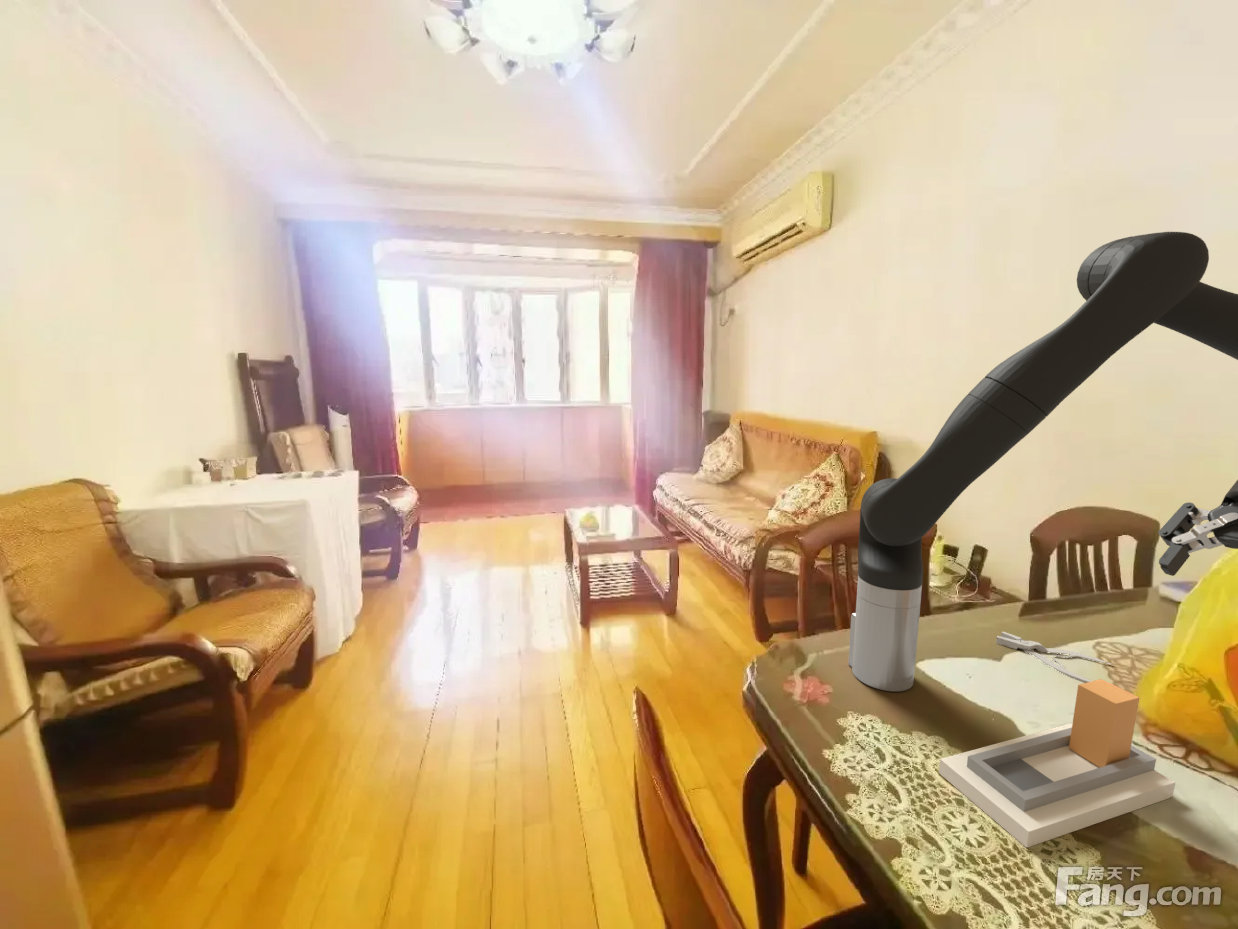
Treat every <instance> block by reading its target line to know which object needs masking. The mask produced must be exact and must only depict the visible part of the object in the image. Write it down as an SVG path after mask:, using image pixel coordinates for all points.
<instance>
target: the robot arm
mask: <svg viewBox="0 0 1238 929" xmlns="http://www.w3.org/2000/svg"><path fill="white" fill-rule="evenodd" d="M1209 254H1210V253H1209V249H1208V246H1207V244H1206V242H1205V241H1204V240H1203V239H1202V238H1201V237H1199V236H1197V235H1196V234H1193V233H1190V232H1186V231H1185V232H1184V231H1161V232H1154V233H1153V232H1152V233H1146V234H1139V235H1133V236H1127V237H1123V238H1119V239H1115V240H1112V241H1110V242H1108V243H1105V244H1103V245H1101V246H1099V247H1098V248H1096V249H1094V250H1093V251H1092V252H1091V253H1090V254H1089V255H1088V256H1086V258H1085V259H1084V260H1083V261H1082V263H1081V264H1080V267H1079V269H1078V271H1077V276H1076V286H1077V289H1078V292H1079V294H1080V295H1081V297H1082V299H1084V300H1085V302H1084V303H1083V304H1082V305H1081V306H1080V307H1079V308H1078V309H1077V310H1076V311H1075V312H1074V313H1073V314H1072V315H1070V317H1069V318H1067V319H1066V320H1065V321H1064V322H1062V323H1061V324H1060V325H1058V326H1057V327H1055V328H1054V329H1052V330H1051V331H1050V332H1048V333H1046V334H1045V335H1043V336H1042V337H1039V338H1038V339H1036V340H1035V341H1033V342H1032V343H1030V344H1028V345H1026V346H1025V347H1023V348H1022V349H1020V350H1019V351H1017V352H1015V353H1014V354H1012V355H1011V356H1009V357H1007V358H1006V359H1005V360H1003V361H1002V362H1000V363H999V364H997V365H996V366H995V367H994V368H993V369H991V370H990V371H989V372H988V373H987V374H986V375H985V376H984V377H983V378H982V379H981V380H980V381H979V382H978V383H977V384H976V385H975V386H974V387H973V388H972V389H971V390H970V391H969V392H968V393H967V394H966V395H965V396H964V397H963V399H962V400H961V401H960V402H959V403H958V405H956V407H955V408H954V410H952V412H951V413H950V415H949V416H948V418H947V420H946V421H945V422H944V424H943V426H942V427H941V428H940V430H939V432H938V434H937V435H936V437H935V439H934V440H933V441H932V443H931V445H930V446H929V447H928V449H927V450H926V451H925V453H924V454H923V455H922V456H921V457H920V458H919V459H918V460H917V461H916V462H915V463H914V464H913V465H912V466H910V467H909V468H908V469H907V470H906V471H905V472H903V474H901V475H900V476H899V477H897V478H895V477H893V478H891V477H889V478H883V479H881V480H878V481H876V482H874V483H872V484H871V485H870V486H869V487H868V488H867V489H866V490H865V492H864V493H863V495H862V498H861V502H860V509H859V510H860V514H859V527H858V529H859V532H858V533H859V534H858V547H857V548H858V550H857V552H858V554H857V555H858V561H857V562H858V566H857V568H858V571H857V585H856V586H857V587H856V589H857V590H856V603H855V612H853V613H851V615H850V628H849V629H850V630H849V631H850V632H849V648H848V662H847V664H848V665H849V666H850V667H851V668H852V670H851V671H852V673H853V676H855V678H856V679H857V680H859V681H860V682H862V683H864V684H865V685H867V686H869V687H871V688H874V689H877V690H881V691H886V692H904V691H905V692H906V691H908V690H910V689H911V688H912V687H913V685H914V678H915V671H916V670H915V669H916V668H915V667H916V659H917V651H918V650H917V646H918V639H919V638H918V637H919V636H918V635H919V625H920V613H921V600H922V588H923V577H924V568H923V567H924V565H923V556H922V555H923V554H922V543H923V542H922V541H923V537H924V536H926V534H927V533H928V532H929V531H930V530H931V529H932V528H933V526H934V525H935V524H936V523H937V522H938V521H939V519H940V518H941V517H942V516H943V515H944V514H945V512H947V510H948V509H949V508H950V507H951V506H952V504H953V503H955V501H956V500H957V498H959V497H960V496H961V495H962V493H963V492H964V491H965V490H966V489H967V488H968V487H969V486H971V484H972V483H973V482H976V480H977V479H978V478H980V477H981V476H982V475H983V474H985V472H986V471H988V470H989V469H990V468H991V467H992V466H994V465H995V464H996V463H997V462H998V461H999V460H1000V459H1002V458H1003V457H1004V456H1005V455H1006V454H1007V453H1008V452H1009V451H1010V450H1011V449H1012V448H1014V447H1015V446H1016V445H1017V444H1018V443H1019V442H1021V441H1022V440H1024V438H1025V437H1026V436H1028V435H1029V434H1030V433H1031V432H1032V431H1033V430H1034V429H1035V428H1036V427H1037V426H1038V425H1040V424H1041V422H1043V421H1045V419H1046V418H1047V417H1048V416H1049V415H1050V414H1051V413H1052V412H1053V411H1054V410H1055V409H1056V408H1057V407H1058V406H1059V405H1060V404H1061V403H1062V402H1063V401H1064V400H1065V399H1066V398H1067V397H1068V396H1070V395H1071V394H1072V393H1073V392H1074V391H1075V390H1076V389H1078V387H1080V386H1081V385H1082V384H1083V383H1085V381H1086V380H1087V379H1088V378H1090V376H1092V375H1093V374H1094V373H1095V372H1096V371H1097V370H1099V368H1100V367H1101V366H1103V364H1104V363H1105V362H1106V361H1108V360H1109V359H1110V358H1111V357H1112V356H1113V355H1114V354H1116V353H1117V352H1118V351H1120V349H1122V348H1123V347H1124V346H1126V345H1127V344H1128V343H1129V342H1131V341H1132V340H1133V339H1134V338H1136V337H1137V336H1138V335H1140V334H1141V333H1142V332H1144V330H1146V329H1147V328H1149V327H1150V326H1151V325H1152V324H1156V325H1159V326H1161V327H1164V328H1167V329H1169V330H1171V331H1174V332H1176V333H1179V334H1182V335H1183V336H1186V337H1188V338H1191V339H1193V340H1195V341H1197V342H1200V344H1201V343H1202V344H1204V345H1206V346H1208V347H1210V348H1212V349H1214V350H1216V351H1219V352H1221V353H1223V354H1225V355H1227V356H1228V357H1231V358H1233V359H1235V360H1236V361H1238V293H1235V292H1232V291H1227V290H1224V289H1222V288H1218V287H1215V286H1212V285H1211V284H1210V285H1209V284H1207V283H1205V282H1202V281H1201V280H1202V279H1203V277H1204V275H1205V273H1206V271H1207V268H1208V265H1209V262H1210V261H1209V259H1210V255H1209ZM1203 521H1208V522H1204V523H1202V522H1203ZM1195 525H1196V526H1195ZM1157 533H1158V535H1159V537H1160V538H1161V539H1162V540H1163V541H1164V543H1165V544H1166V545H1167V546H1168V547H1167V549H1166V550H1165V551H1164V553H1163V554H1162V555H1161V557H1160V558H1159V559H1158V564H1159V565H1160V569H1161V570H1162V571H1163V573H1164V574H1165V575H1168V576H1172V577H1173V576H1176V574H1177V573H1178V572H1179V571H1180V569H1181V568H1182V567H1183V565H1184V564H1185V563H1186V562H1187V561H1188V559H1189V558H1190V557H1191V555H1190V554H1192V553H1195V552H1197V551H1200V550H1204V549H1207V550H1211V549H1214V548H1217V547H1220V546H1224V547H1225V548H1229V549H1234V550H1235V549H1236V550H1238V479H1237V480H1236V481H1235V483H1234V484H1233V485H1232V486H1231V487H1230V488H1229V490H1228V491H1227V492H1226V494H1225V496H1224V497H1223V499H1222V501H1221V504H1220V505H1219V506H1217V507H1216V508H1213V509H1210V510H1209V509H1204V508H1199V507H1196V505H1195V504H1194V503H1193V502H1185V503H1183V504H1182V505H1181V506H1180V507H1179V508H1178V509H1177V511H1175V513H1173V515H1172V516H1171V517H1170V518H1169V519H1168V520H1167V521H1166V522H1165V524H1164V525H1163V526H1162V527H1161V528H1160V529H1159V530H1158V532H1157ZM1211 533H1213V535H1214V536H1211V537H1208V535H1209V534H1211Z"/></svg>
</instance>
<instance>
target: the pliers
mask: <svg viewBox="0 0 1238 929" xmlns="http://www.w3.org/2000/svg"><path fill="white" fill-rule="evenodd" d="M995 643H996V644H997V645H1001V646H1004V647H1007V648H1010V649H1013V650H1017V649H1019V650H1022V651H1023V652H1024V653H1025V652H1026V653H1025V654H1027V653H1030V654H1031V655H1030V654H1029V655H1030V656H1032V655H1034V656H1035V657H1037V658H1038V659H1040V660H1041V661H1042V662H1043V663H1045V664H1046V665H1049V666H1051V667H1053V668H1054V669H1056V670H1057V671H1059V672H1058V673H1060V672H1061V673H1060V674H1062V673H1063V674H1062V675H1064V674H1065V676H1066V675H1067V677H1069V678H1071V679H1074V678H1075V679H1074V680H1076V679H1077V681H1079V680H1080V682H1082V683H1087V682H1091V681H1092V680H1091V679H1088V678H1086V677H1083V676H1081V675H1079V674H1077V673H1074V672H1072V671H1069V670H1068V669H1066V668H1065V667H1064V665H1063V664H1062V663H1061V662H1060V661H1059V660H1057V659H1056V657H1065V658H1066V657H1069V658H1070V659H1072V658H1071V657H1081V658H1085V659H1090V660H1094V661H1097V662H1102V663H1105V662H1107V661H1105V660H1104V659H1103V660H1102V659H1100V658H1096V657H1094V656H1090V655H1087V654H1082V653H1079V652H1074V651H1070V650H1066V649H1065V650H1064V649H1060V648H1050V647H1049V648H1047V647H1045V646H1044V645H1043V644H1041V643H1040V642H1038V641H1033V640H1024V639H1023V638H1022V637H1020V636H1017V635H1014V634H1011V633H1009V632H1006V631H1001V633H1000V636H999V635H997V636H996V641H995ZM1034 649H1035V650H1037V651H1038V652H1039V651H1041V652H1040V653H1043V652H1050V653H1058V654H1060V653H1061V654H1069V656H1066V655H1057V654H1053V657H1051V658H1052V659H1053V660H1055V661H1056V662H1057V663H1058V664H1059V665H1060V666H1059V665H1058V664H1057V663H1056V662H1054V661H1053V660H1051V659H1049V658H1048V657H1047V656H1045V655H1043V654H1040V653H1038V652H1035V651H1034ZM1054 656H1056V657H1054ZM1035 657H1034V658H1035ZM1037 658H1036V659H1037ZM1081 658H1080V659H1081ZM1038 659H1037V660H1038ZM1085 659H1084V660H1085ZM1042 662H1041V663H1042ZM1043 663H1042V664H1043ZM1045 664H1044V665H1045ZM1106 664H1109V665H1111V664H1112V663H1110V662H1108V663H1106ZM1046 665H1045V666H1046ZM1057 671H1056V672H1057Z"/></svg>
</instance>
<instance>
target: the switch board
mask: <svg viewBox="0 0 1238 929" xmlns="http://www.w3.org/2000/svg"><path fill="white" fill-rule="evenodd" d="M1072 724H1073V722H1070V723H1067V724H1063V725H1060V726H1057V727H1052V728H1049V729H1046V730H1042V731H1041V730H1040V731H1039V732H1034V733H1031V734H1027V735H1023V736H1020V737H1015V738H1012V739H1008V740H1005V741H1001V742H998V743H997V742H996V743H994V744H990V745H986V746H983V747H980V748H976V749H972V750H967V751H964V752H961V753H957V754H954V755H949V756H946V757H942V758H940V759H939V766H938V774H940V776H942V777H943V778H944V779H945V780H947V781H948V782H949V783H950V784H951V785H953V786H954V787H955V788H956V789H957V790H958V791H959V792H960V793H961V794H962V795H964V796H965V797H966V798H967V799H968V800H970V802H972V803H973V804H974V805H976V806H977V807H978V808H979V809H980V810H982V811H983V812H984V813H985V814H986V815H987V816H989V817H990V818H991V819H992V820H993V821H994V822H995V823H997V824H998V825H999V826H1000V827H1002V828H1003V829H1004V830H1005V831H1006V832H1007V833H1009V835H1011V836H1012V837H1013V838H1014V839H1016V840H1017V841H1018V842H1019V843H1021V844H1022V845H1023V846H1024V847H1025V848H1030V847H1033V846H1036V845H1039V844H1041V843H1044V842H1047V841H1050V840H1052V839H1055V838H1059V837H1062V836H1064V835H1067V834H1070V833H1073V832H1075V831H1079V830H1081V829H1084V828H1088V827H1089V826H1094V825H1095V824H1099V823H1101V822H1104V821H1108V820H1110V819H1113V818H1117V817H1120V816H1122V815H1126V814H1127V813H1130V812H1134V811H1136V810H1139V809H1141V808H1145V807H1148V806H1150V805H1154V804H1156V803H1159V802H1161V801H1165V800H1168V799H1171V798H1173V797H1174V791H1175V786H1176V781H1174V780H1173V779H1170V778H1169V777H1167V776H1165V775H1163V773H1161V772H1158V771H1157V770H1155V768H1156V764H1157V763H1156V762H1157V759H1156V757H1153V756H1152V755H1150V754H1148V753H1147V752H1145V751H1143V750H1142V749H1140V748H1137V747H1135V746H1133V745H1132V744H1131V749H1130V755H1129V759H1126V760H1123V761H1120V762H1116V763H1113V764H1110V765H1107V766H1104V767H1098V766H1097V765H1095V764H1094V763H1092V762H1090V761H1089V760H1087V759H1086V758H1084V757H1082V756H1081V755H1079V754H1078V753H1076V752H1074V751H1073V750H1071V749H1070V748H1069V744H1070V737H1071V730H1072ZM1172 796H1173V797H1172ZM1170 797H1171V798H1170Z"/></svg>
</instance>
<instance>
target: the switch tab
mask: <svg viewBox="0 0 1238 929" xmlns="http://www.w3.org/2000/svg"><path fill="white" fill-rule="evenodd" d="M1139 703H1140V697H1139V696H1137V695H1136V694H1133V693H1131V692H1129V691H1127V690H1125V689H1123V688H1121V687H1118V686H1116V685H1114V684H1112V683H1111V682H1108V681H1106V680H1104V679H1102V678H1100V679H1096V680H1091V682H1087V683H1085V682H1082V683H1080V684H1078V685H1077V690H1076V698H1075V705H1074V712H1073V717H1072V723H1073V724H1072V730H1071V737H1070V744H1069V748H1070V749H1071V750H1073V751H1074V752H1076V753H1078V754H1079V755H1081V756H1082V757H1084V758H1086V759H1087V760H1089V761H1090V762H1092V763H1094V764H1095V765H1097V766H1098V767H1104V766H1107V765H1110V764H1113V763H1116V762H1120V761H1123V760H1126V759H1129V755H1130V749H1131V745H1132V742H1133V738H1134V732H1135V727H1136V726H1135V725H1136V720H1137V714H1138V709H1139Z"/></svg>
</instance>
